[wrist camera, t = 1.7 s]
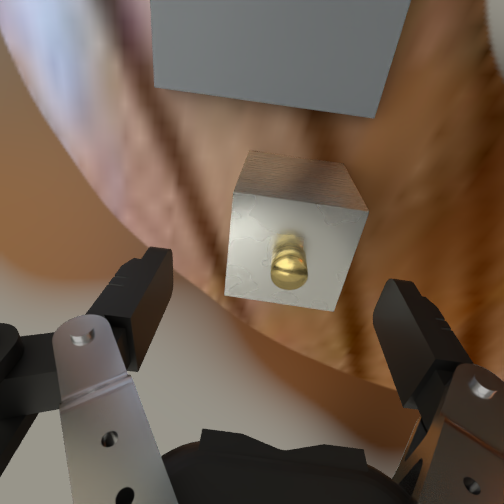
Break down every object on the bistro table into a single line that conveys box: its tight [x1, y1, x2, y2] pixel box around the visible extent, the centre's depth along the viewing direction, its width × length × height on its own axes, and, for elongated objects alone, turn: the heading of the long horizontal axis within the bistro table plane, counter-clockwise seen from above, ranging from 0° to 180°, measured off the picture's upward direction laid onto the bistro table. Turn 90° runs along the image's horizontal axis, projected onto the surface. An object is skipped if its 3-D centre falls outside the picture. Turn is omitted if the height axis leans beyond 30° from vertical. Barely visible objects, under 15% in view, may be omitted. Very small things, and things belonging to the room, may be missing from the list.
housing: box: [224, 150, 369, 312], centre depth 15 cm, size 5×5×7 cm
